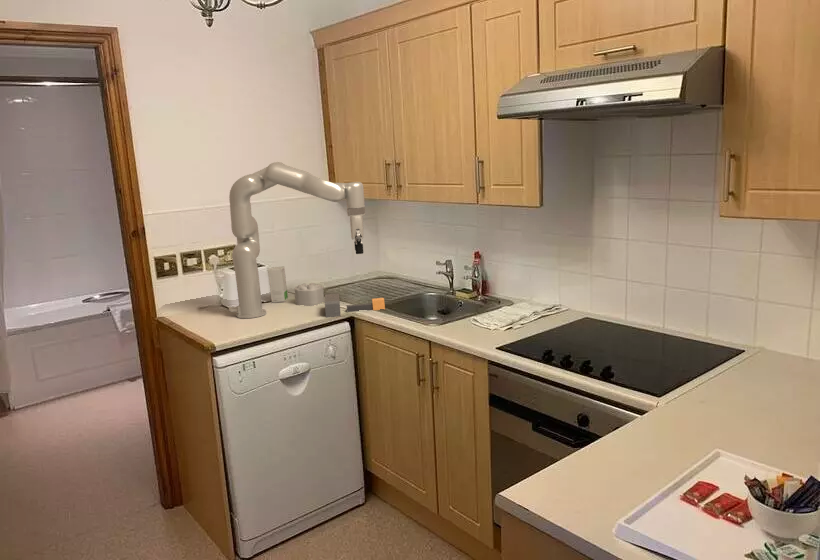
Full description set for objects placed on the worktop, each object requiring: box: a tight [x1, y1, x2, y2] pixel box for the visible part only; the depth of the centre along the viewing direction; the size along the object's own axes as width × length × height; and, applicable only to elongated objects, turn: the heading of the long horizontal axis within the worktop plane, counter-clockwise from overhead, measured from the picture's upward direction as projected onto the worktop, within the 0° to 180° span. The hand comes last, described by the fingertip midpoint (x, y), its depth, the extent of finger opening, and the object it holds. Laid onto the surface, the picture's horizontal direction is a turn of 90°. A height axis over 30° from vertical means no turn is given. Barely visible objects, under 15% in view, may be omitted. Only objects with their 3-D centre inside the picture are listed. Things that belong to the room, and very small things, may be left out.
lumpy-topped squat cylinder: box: [294, 282, 325, 307], centre depth 294 cm, size 10×13×9 cm
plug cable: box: [346, 297, 386, 313], centre depth 276 cm, size 16×4×4 cm, turn 96°
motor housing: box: [324, 293, 342, 318], centre depth 274 cm, size 6×14×7 cm, turn 7°
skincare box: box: [267, 266, 289, 304], centre depth 302 cm, size 8×7×16 cm
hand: (359, 251), depth 276 cm, fingers open, 9 cm apart
